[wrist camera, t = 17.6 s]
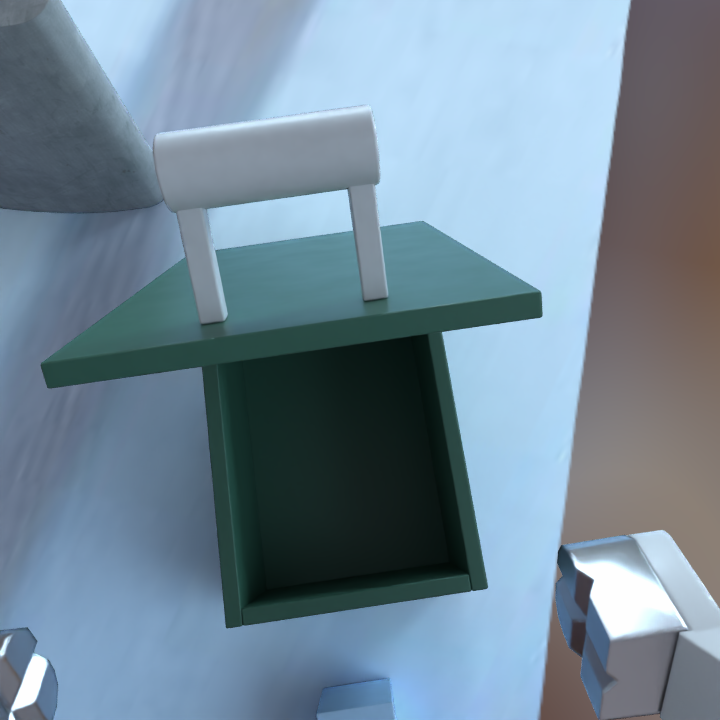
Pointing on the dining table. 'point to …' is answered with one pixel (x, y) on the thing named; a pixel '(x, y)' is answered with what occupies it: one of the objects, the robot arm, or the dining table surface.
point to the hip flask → (64, 121)
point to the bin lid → (287, 260)
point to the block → (358, 702)
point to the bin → (339, 480)
